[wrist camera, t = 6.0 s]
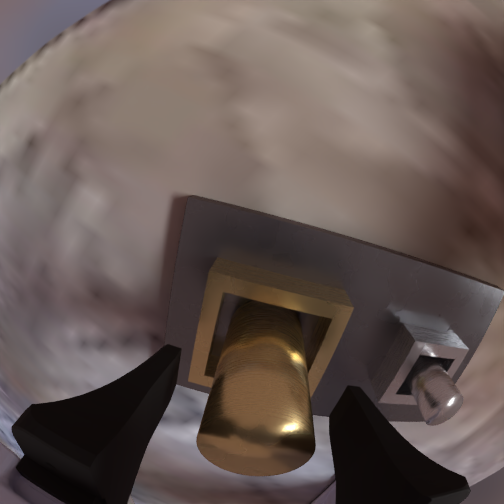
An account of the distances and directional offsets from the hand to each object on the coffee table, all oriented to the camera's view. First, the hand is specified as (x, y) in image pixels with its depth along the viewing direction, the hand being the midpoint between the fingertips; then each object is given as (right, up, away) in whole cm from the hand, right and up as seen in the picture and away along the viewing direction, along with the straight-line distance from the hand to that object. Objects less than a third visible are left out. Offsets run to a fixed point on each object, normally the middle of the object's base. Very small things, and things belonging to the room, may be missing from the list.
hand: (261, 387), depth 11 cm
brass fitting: (0, +1, +5) cm, 5 cm away
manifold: (+5, 0, +5) cm, 8 cm away
